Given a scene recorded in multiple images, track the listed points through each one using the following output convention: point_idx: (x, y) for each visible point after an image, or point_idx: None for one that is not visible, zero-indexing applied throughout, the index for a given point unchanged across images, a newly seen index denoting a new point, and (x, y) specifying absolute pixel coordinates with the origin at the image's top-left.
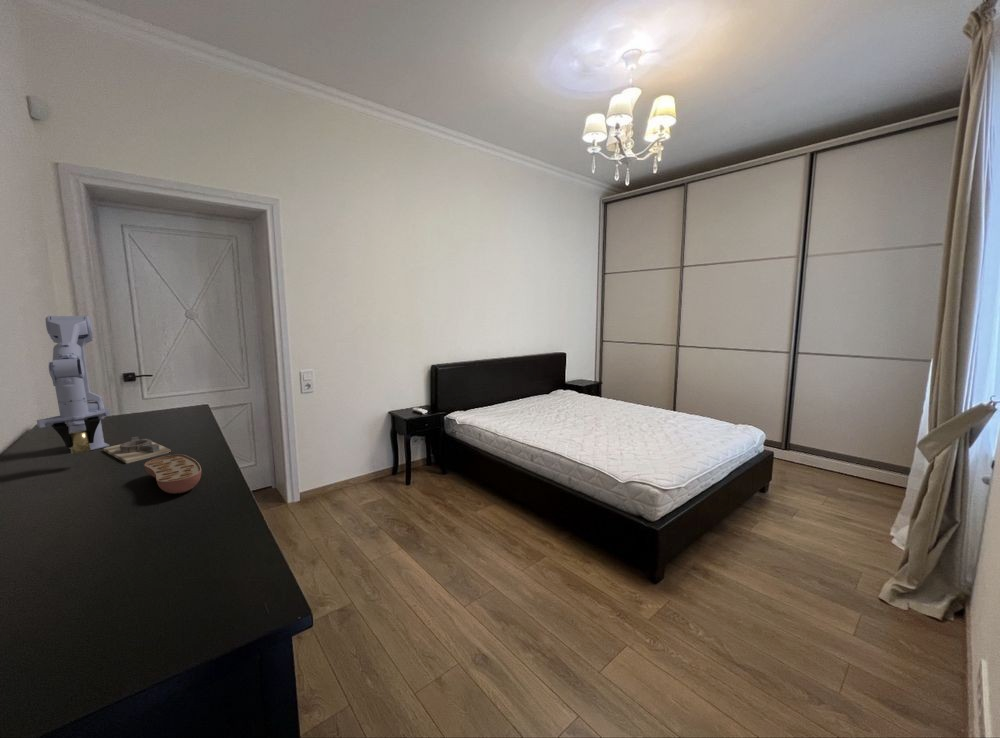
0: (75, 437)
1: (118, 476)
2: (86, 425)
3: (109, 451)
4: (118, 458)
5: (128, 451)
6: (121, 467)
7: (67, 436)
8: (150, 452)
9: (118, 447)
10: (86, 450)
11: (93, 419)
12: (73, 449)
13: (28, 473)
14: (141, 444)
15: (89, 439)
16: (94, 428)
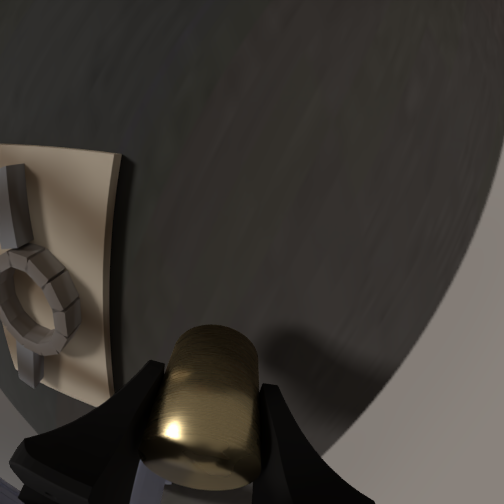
0: (239, 422)
1: (242, 5)
2: (126, 491)
3: (106, 366)
4: (108, 266)
5: (63, 272)
6: (161, 115)
7: (288, 445)
8: (27, 178)
9: (78, 375)
10: (203, 330)
11: (57, 499)
12: (255, 368)
13: (334, 400)
14: (14, 258)
15: (157, 388)
16: (91, 423)
